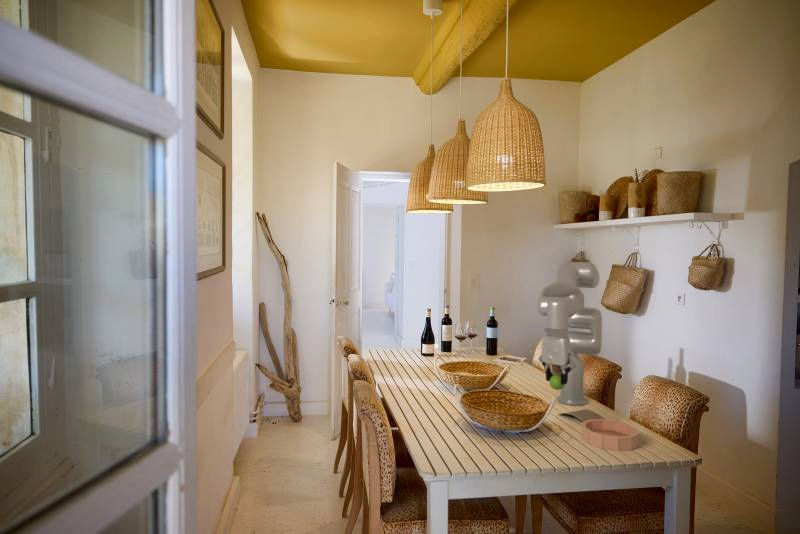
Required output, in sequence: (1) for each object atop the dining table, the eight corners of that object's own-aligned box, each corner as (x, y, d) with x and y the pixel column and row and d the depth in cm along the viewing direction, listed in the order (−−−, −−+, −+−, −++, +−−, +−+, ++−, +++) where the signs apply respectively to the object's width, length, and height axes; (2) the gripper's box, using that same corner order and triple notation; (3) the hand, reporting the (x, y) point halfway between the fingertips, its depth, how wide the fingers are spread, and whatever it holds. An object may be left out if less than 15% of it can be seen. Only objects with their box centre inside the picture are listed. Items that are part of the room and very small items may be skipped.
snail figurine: (544, 388, 185) (544, 356, 185) (558, 386, 188) (558, 355, 187) (553, 392, 180) (553, 359, 180) (568, 390, 182) (568, 358, 182)
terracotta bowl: (598, 427, 190) (598, 415, 190) (647, 442, 176) (647, 429, 176) (571, 438, 179) (572, 426, 179) (622, 455, 164) (622, 441, 164)
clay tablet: (608, 423, 197) (608, 415, 197) (588, 428, 191) (588, 420, 191) (575, 412, 211) (575, 405, 211) (556, 416, 205) (556, 409, 205)
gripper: (531, 331, 187) (530, 379, 188) (572, 337, 174) (571, 389, 175) (543, 329, 192) (542, 375, 193) (584, 335, 179) (583, 385, 179)
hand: (556, 381), depth 184 cm, fingers closed on snail figurine, 5 cm apart
